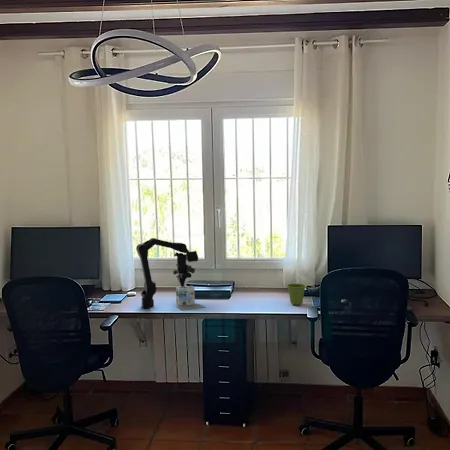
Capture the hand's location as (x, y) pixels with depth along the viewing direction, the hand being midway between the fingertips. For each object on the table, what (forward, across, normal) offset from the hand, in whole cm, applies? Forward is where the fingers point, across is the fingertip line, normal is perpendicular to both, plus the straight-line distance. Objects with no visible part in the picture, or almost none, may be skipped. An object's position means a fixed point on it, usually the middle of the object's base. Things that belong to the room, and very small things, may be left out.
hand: (182, 287), depth 330 cm
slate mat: (+10, -15, 0) cm, 18 cm away
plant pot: (+10, -38, -61) cm, 72 cm away
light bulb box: (+10, -5, 0) cm, 11 cm away
